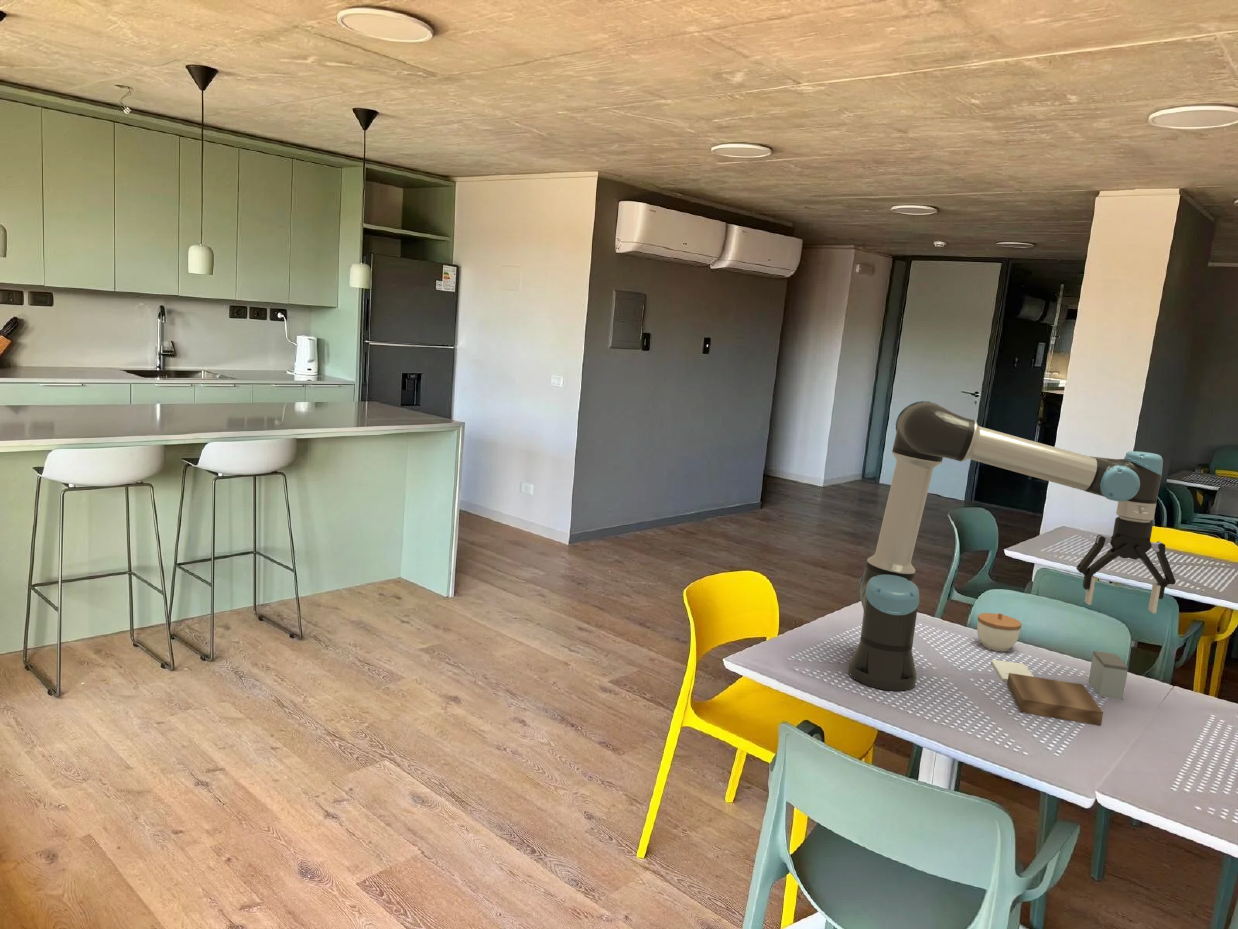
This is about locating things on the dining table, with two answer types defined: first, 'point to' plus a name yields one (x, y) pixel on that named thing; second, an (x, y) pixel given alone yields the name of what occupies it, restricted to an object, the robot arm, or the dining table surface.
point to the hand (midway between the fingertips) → (1119, 607)
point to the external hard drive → (1009, 669)
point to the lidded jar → (998, 631)
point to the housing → (1108, 675)
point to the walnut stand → (1054, 699)
